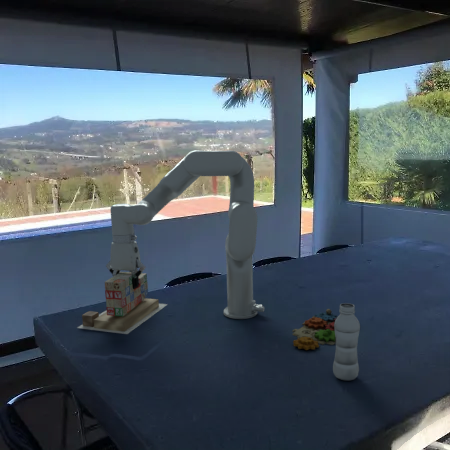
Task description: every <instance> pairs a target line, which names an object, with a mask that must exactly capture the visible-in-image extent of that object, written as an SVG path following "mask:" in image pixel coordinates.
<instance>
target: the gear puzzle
mask: <svg viewBox="0 0 450 450" xmlns="http://www.w3.org/2000/svg"><path fill="white" fill-rule="evenodd" d="M337 317H338V316H337V315H336V314H333V313H332V310H331V309H330V308H327V309H326V310H325V312H318V313H316V314H314V315H313V316H312V317H311V318H308V319H305V320H304V322H303V323H302V324H301V325H302V327H300V328H294V329H293V330H292V331H291V332H292V334H291V335H292V336H295V337H296V338H297V339H294V340H293V341H292V343H293V347H297V348H298V350H301V349H304V350H305V351H308V350H314V351H315V350H316V348H320V345H322V346H324V345H325V344H327V345H330V346H333V345H336V337H335V329H334V323H335V320H336V319H337Z"/></svg>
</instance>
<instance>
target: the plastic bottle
mask: <svg viewBox="0 0 450 450" xmlns="http://www.w3.org/2000/svg"><path fill="white" fill-rule="evenodd" d="M355 307H356V306H355V304H353V303H349V302H344V303H340V304H339V311H338V312H339V315H338V316H337V319H336V320H335V323H334V329H335V337H336V339H335V341H336V343H335V353H334V360H333V363H332V371H333V375H334V376H335V377H336V379H339V380H341V381H354V380H356V378H357V377H358V376H359V372H360V366H359V361H358V360H359V359H358V344H359V343H358V341H359V337H360V336H359V334H360V329H361V324H360V321H359V320H358V318H357V316H356V315H355V313H356V310H355V309H356V308H355Z"/></svg>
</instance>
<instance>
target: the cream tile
mask: <svg viewBox="0 0 450 450" xmlns="http://www.w3.org/2000/svg"><path fill="white" fill-rule="evenodd" d="M166 306H168V303H167V304H166V303H159V307H158V308H157V309H155V310H154V311H153V312H151V313H150V314H148V315H147V316H146V317H144V318H143V319H141V320H140V321H139V322H137V323H136V324H134V325H133V326H132V327H130V328H129V329H127V330H126V331H125V332H123V331H115V330H107V329H99V328H94V327H87V326H83V323H82V324H81V325H79V326H77V327H76V328H77V329H82V330H89V331H90V330H91V331H100V332H106V333H107V332H108V333H114V334H115V333H116V334H123V335H129V334H130V333H131V332H133V330H135V329H136V328H138V327H140V326H141V325H142V324H143V323H144V322H147V320H149V319H150V318H152V317H153V316H155V314H157V313H158V312H160V311H161V310H162V309H163V308H165V307H166ZM106 312H107V309H106V310H104V311H103V312H101V313H99V316H101V315H102V314H104V313H106Z"/></svg>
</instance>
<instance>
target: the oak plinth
mask: <svg viewBox="0 0 450 450" xmlns="http://www.w3.org/2000/svg"><path fill="white" fill-rule="evenodd" d="M159 304H160V301H159V298H158V299H156V298H148V297H147V298H145V299H144V300H143V301H141V302H140V303H139V304H138V305H136V306H135V307H134V308H133V309H132V310H131V311H129V312H128V313H127V314H125V315H124V316H110V315H107V312H106V313H104V314H102V315H101V316H99V317H97V318H96V319H94V328H99V329H107V330H115V331H123V332H125V331H126V330H127V329H129V328H130V327H132V326H133V325H134V324H136V323H137V322H139V321H140V320H141V319H143V318H144V317H146V316H147V315H148V314H150V313H151V312H153V311H154V310H155V309H157V308H158V307H159Z"/></svg>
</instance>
